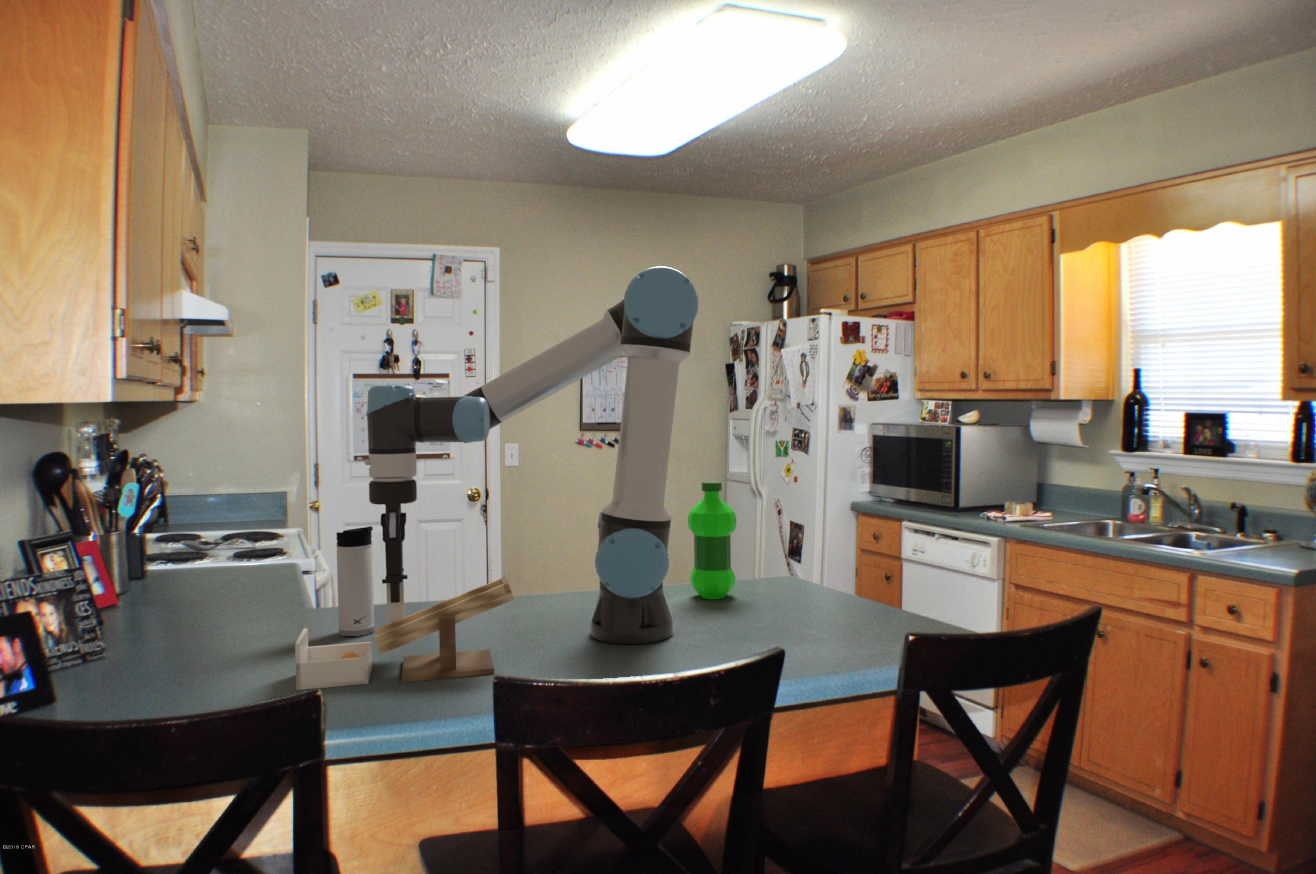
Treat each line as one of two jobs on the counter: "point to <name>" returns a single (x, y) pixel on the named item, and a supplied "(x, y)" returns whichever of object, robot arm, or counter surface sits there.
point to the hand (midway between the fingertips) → (395, 620)
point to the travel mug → (355, 582)
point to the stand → (447, 659)
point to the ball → (349, 655)
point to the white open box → (331, 664)
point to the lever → (429, 617)
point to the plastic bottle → (712, 544)
